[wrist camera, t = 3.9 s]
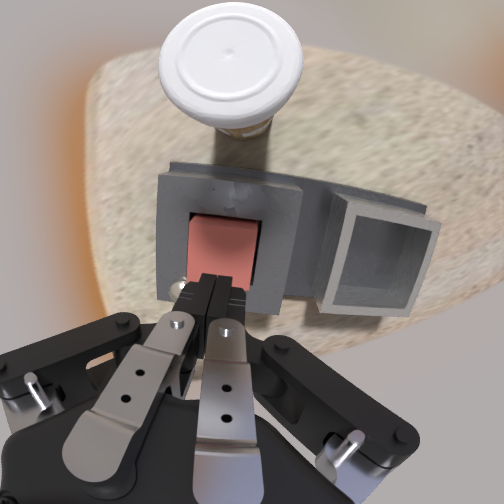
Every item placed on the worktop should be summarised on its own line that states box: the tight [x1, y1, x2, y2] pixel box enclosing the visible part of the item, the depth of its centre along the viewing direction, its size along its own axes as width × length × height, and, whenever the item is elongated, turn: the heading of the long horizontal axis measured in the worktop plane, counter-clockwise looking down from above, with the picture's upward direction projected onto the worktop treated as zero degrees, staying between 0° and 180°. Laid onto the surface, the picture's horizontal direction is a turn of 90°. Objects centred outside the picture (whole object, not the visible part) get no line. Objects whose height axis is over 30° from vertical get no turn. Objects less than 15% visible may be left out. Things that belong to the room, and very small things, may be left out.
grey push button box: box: [156, 162, 442, 317], centre depth 20 cm, size 22×10×6 cm, turn 82°
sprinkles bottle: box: [158, 2, 303, 140], centre depth 13 cm, size 5×4×14 cm
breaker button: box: [187, 213, 258, 291], centre depth 19 cm, size 4×4×5 cm
